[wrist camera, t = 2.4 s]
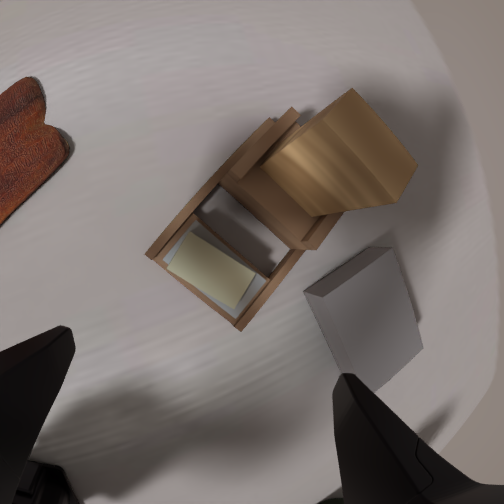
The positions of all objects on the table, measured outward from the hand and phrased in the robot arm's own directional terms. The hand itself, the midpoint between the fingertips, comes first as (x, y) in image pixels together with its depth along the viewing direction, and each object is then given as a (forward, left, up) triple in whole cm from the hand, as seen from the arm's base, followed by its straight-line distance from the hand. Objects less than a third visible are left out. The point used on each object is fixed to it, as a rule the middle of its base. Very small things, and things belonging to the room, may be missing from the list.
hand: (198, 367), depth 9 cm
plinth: (-2, -15, -12) cm, 19 cm away
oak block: (+8, -7, -9) cm, 14 cm away
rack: (+6, -6, -12) cm, 14 cm away
